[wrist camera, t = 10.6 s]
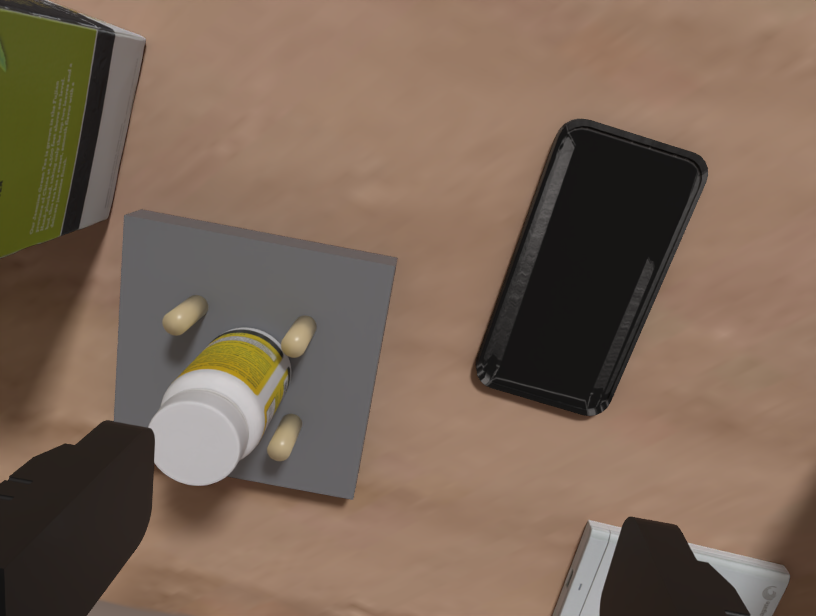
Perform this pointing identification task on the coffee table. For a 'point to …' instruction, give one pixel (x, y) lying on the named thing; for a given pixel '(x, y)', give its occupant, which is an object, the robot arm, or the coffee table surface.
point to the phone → (588, 265)
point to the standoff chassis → (264, 310)
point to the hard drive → (747, 575)
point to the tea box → (60, 118)
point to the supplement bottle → (220, 406)
